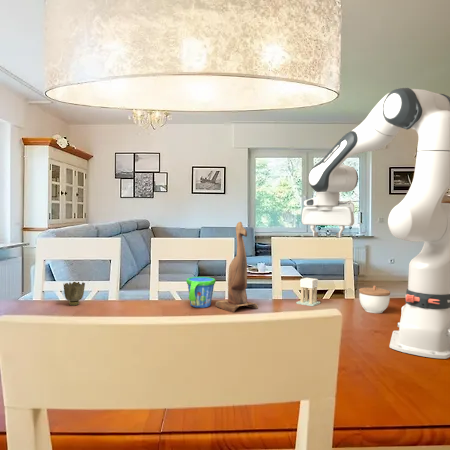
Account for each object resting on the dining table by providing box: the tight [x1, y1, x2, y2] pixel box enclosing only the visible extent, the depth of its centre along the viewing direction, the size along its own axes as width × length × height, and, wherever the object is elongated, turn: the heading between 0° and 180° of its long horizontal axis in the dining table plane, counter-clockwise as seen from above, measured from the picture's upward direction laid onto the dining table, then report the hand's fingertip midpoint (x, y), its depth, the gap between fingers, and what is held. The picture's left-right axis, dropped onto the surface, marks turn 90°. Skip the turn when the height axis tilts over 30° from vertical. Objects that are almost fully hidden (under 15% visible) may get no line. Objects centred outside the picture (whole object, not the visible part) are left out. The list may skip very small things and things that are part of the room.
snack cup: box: [185, 276, 216, 309], centre depth 158 cm, size 16×10×10 cm
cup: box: [63, 281, 86, 307], centre depth 155 cm, size 8×7×8 cm
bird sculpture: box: [215, 221, 259, 314], centre depth 155 cm, size 11×12×32 cm
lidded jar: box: [358, 285, 391, 314], centre depth 155 cm, size 11×11×9 cm
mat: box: [295, 298, 321, 307], centre depth 166 cm, size 7×7×1 cm
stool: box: [299, 277, 319, 304], centre depth 166 cm, size 5×5×9 cm
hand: (326, 237), depth 165 cm, fingers open, 8 cm apart
